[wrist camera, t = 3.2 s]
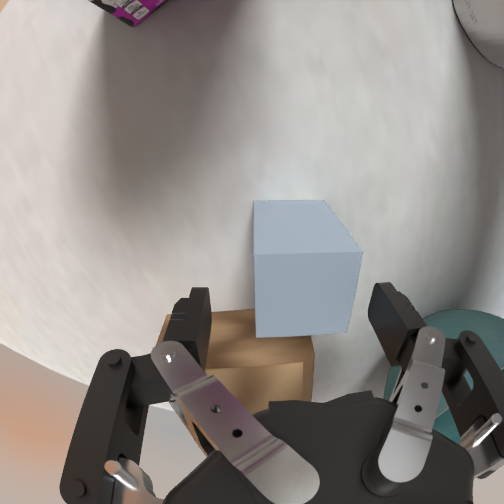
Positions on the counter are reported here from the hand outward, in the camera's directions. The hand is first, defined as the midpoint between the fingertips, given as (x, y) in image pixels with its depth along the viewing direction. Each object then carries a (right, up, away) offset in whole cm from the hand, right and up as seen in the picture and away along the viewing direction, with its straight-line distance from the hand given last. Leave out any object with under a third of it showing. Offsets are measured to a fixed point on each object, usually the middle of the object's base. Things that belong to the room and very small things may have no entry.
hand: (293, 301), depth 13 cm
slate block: (+1, +4, +8) cm, 8 cm away
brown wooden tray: (-3, -8, +14) cm, 16 cm away
